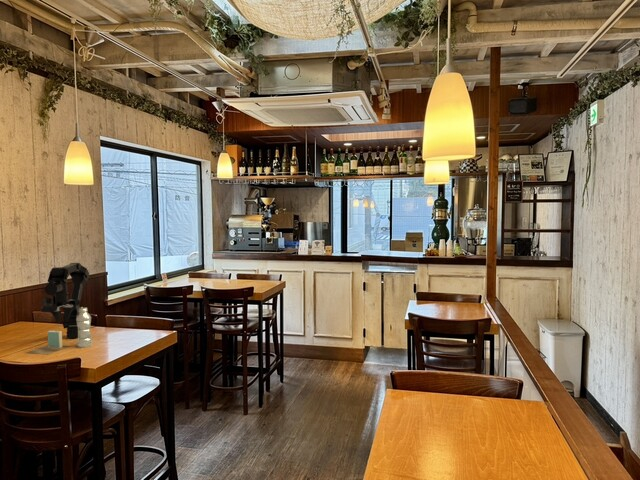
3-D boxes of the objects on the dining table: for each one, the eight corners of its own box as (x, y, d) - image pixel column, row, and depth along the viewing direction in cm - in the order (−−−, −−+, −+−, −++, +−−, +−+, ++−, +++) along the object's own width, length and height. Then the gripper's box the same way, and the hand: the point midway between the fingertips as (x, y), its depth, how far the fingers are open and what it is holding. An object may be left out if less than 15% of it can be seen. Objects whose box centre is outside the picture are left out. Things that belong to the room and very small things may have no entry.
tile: (51, 346, 216) (50, 330, 215) (62, 347, 214) (61, 331, 214) (48, 347, 214) (47, 331, 214) (59, 348, 212) (58, 332, 212)
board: (49, 345, 219) (49, 344, 219) (71, 347, 215) (71, 346, 215) (24, 354, 205) (24, 353, 205) (47, 356, 202) (47, 354, 202)
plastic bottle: (81, 345, 217) (78, 306, 216) (94, 345, 218) (92, 306, 217) (74, 349, 211) (72, 309, 210) (89, 349, 212) (87, 308, 211)
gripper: (62, 288, 229) (64, 317, 229) (31, 294, 211) (33, 326, 211) (80, 288, 226) (81, 318, 227) (49, 295, 208) (51, 327, 209)
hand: (62, 322), depth 218 cm, fingers open, 5 cm apart
